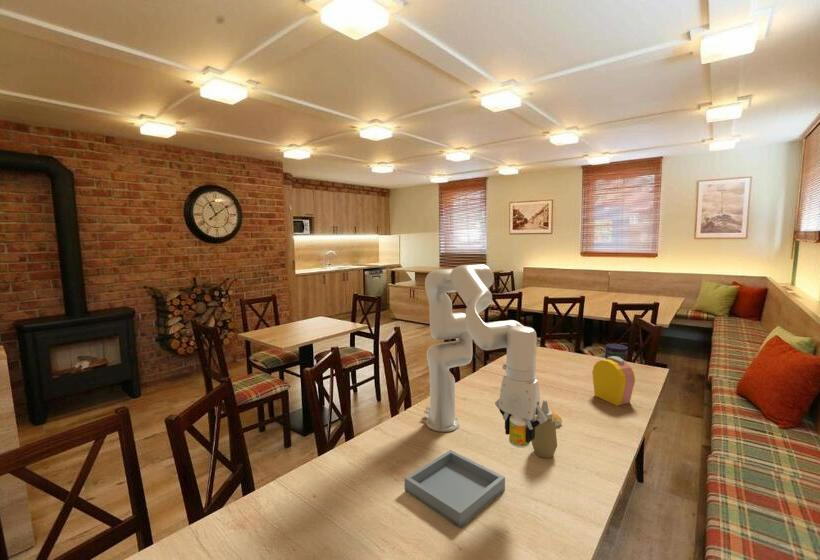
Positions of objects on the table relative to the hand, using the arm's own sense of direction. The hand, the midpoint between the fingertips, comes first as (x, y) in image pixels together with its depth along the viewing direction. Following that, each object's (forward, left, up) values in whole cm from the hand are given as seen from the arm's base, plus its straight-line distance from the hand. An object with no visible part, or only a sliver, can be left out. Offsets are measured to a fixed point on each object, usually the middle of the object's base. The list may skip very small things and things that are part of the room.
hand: (519, 436), depth 106 cm
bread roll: (-13, +45, -17) cm, 50 cm away
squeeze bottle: (-5, +24, -17) cm, 30 cm away
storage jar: (-13, +115, -17) cm, 117 cm away
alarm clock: (-4, +84, -17) cm, 86 cm away
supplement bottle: (0, 0, -2) cm, 2 cm away
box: (-14, -11, -17) cm, 24 cm away
